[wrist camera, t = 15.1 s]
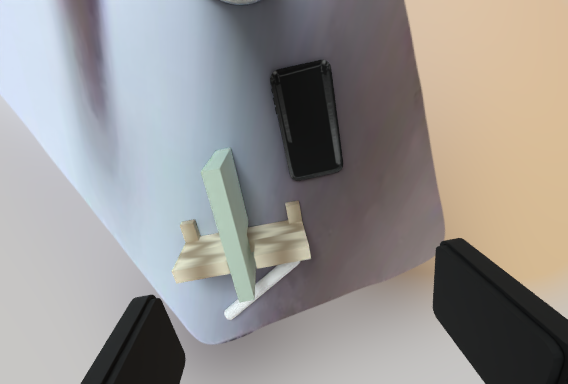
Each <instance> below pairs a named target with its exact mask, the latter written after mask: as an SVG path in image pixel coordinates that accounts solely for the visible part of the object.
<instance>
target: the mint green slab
mask: <svg viewBox="0 0 568 384" xmlns="http://www.w3.org/2000/svg"><path fill="white" fill-rule="evenodd" d="M201 175H202V178H203V181H204V185H205V188H206V192H207V195H208V198H209V202H210V205H211V208H212V212H213V215H214V219H215V222H216V225H217V229H218V232H219V235H220V239H221V242H222V246H223V249H224V252H225V256H226V259H227V263H228V266H229V269H230V273H231V276H232V279H233V283H234V286H235V290H236V293H237V296H238V300H239V303H241V302H246V301H252V300H255V279H256V262H255V258H254V252H251V249H250V245H249V241H248V237H247V229H248V218H247V213H246V209H245V205H244V201H243V197H242V193H241V189H240V185H239V180H238V176H237V172H236V168H235V164H234V160H233V156H232V152H231V148H226V149H220V150H216V151H215V153H214V154H213V155H212V157H211V158H210V160H209V161H208V162H207V164H206V165H205V166H204V168H203V169H202V170H201Z"/></svg>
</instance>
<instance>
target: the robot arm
mask: <svg viewBox="0 0 568 384" xmlns="http://www.w3.org/2000/svg"><path fill="white" fill-rule="evenodd" d="M220 1H223V2H226V3H229V4H236V5H246V4H252V3H255V2H258V1H260V0H220ZM433 311H434V314H435V316H436V318H437V319H438V320H439V322H440V323H441V324H442V326H443V327H444V329H445V330H446V331H447V333H448V334H449V335H450V337H451V338H452V339H453V341H454V342H455V343H456V345H457V346H458V347H459V349H460V350H461V351H462V353H463V354H464V355H465V357H466V358H467V360H468V361H469V362H470V363H471V365H472V366H473V368H474V369H475V370H476V372H477V373H478V374H479V376H480V377H481V378H482V380H483V381H484V382H485V384H568V319H566V318H565V317H563V316H562V315H561V314H560V313H558V312H557V311H556V310H554V309H553V308H552V307H551V306H549V305H548V304H547V303H545V302H544V301H543V300H542V299H540V298H539V297H538V296H536V295H535V294H534V293H533V292H531V291H530V290H529V289H527V288H526V287H525V286H523V285H522V284H521V283H520V282H518V281H517V280H516V279H514V278H513V277H512V276H510V275H509V274H508V273H507V272H505V271H504V270H503V269H501V268H500V267H499V266H498V265H496V264H495V263H494V262H492V261H491V260H490V259H488V258H487V257H486V256H485V255H483V254H482V253H481V252H479V251H478V250H477V249H475V248H474V247H473V246H471V245H470V244H469V243H468V242H466V241H465V240H464V239H462V238H457V239H452V240H446V241H442V242H441V243H440V246H438V247H437V248H436V258H435V275H434V293H433ZM184 366H185V353H184V350H183V348H182V346H181V344H180V341H179V339H178V337H177V335H176V333H175V330H174V328H173V325H172V323H171V321H170V319H169V316H168V314H167V312H166V310H165V307H164V305H163V303H162V301H161V299H160V298H156V297H155V296H154V295H148V296H142V297H137V298H134V299H133V300H132V301H131V302H130V304H129V306H128V307H127V309H126V311H125V312H124V314H123V316H122V317H121V319H120V320H119V322H118V323H117V325H116V327H115V328H114V330H113V332H112V333H111V335H110V337H109V338H108V340H107V341H106V343H105V345H104V346H103V348H102V350H101V351H100V353H99V354H98V356H97V358H96V359H95V361H94V363H93V364H92V366H91V368H90V369H89V371H88V372H87V374H86V376H85V377H84V379H83V381H82V382H81V384H180V380H181V376H182V373H183V369H184Z"/></svg>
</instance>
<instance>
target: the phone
mask: <svg viewBox="0 0 568 384" xmlns="http://www.w3.org/2000/svg"><path fill="white" fill-rule="evenodd" d="M270 81H271V86H272V93H273V96H274V98H273V99H274V104H275V105H276V107H275V109H276V114H277V115H278V120H279V124H280V129H281V134H282V139H283V143H284V148H285V153H286V158H287V162H288V167H289V172H290V176H291V178H292V179H294V180H296V181H300V180H305V179H309V178H314V177H318V176H323V175H327V174H332V173H336V172H339V171H340V170H341V169H342V167H343V158H342V150H341V142H340V135H339V127H338V119H337V111H336V103H335V95H334V88H333V80H332V72H331V66H330V64H329V62H327V61H326V60H318V61H314V62H309V63H305V64H300V65H296V66H291V67H287V68H283V69H278V70H276V71H274V72H273V73H272V75H271V78H270Z"/></svg>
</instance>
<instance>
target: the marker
mask: <svg viewBox="0 0 568 384" xmlns="http://www.w3.org/2000/svg"><path fill="white" fill-rule="evenodd" d="M299 263H300V261H296V262H291V263H285V264H280V265H277V266H276V267H275V268H274V269H273V270H271V271H270V272H269V273H268V274H267V275H266V276H264V277H263V278H262V279H261V280H260V281H258V282H257V283H256V284H255V300H256V299H258V298H259V297H260V296H261V295H262V294H264V293H265V292H266V291H267V290H268V289H270V288H271V287H272V286H273V285H274V284H276V283H277V282H278V281H279V280H280V279H282V278H283V277H284V276H285V275H286V274H288V273H289V272H290V271H291V270H292V269H294V268H295V267H296V266H297V265H298V264H299ZM255 300H252V301H246V302H241V303H239V300H238V299H237V300H236V301H235V302H234V303H233V304H231V305H230V306H229V307H228V308H227V309H226V310H225V311H224V312H225V313H224V314H225V317H226V318H227V319H228V320H232V319H233V318H235V317H236V316H237V315H238V314H240V313H241V312H242V311H243V310H244V309H246V308H247V307H248V306H249V305H250V304H252V303H253V302H254V301H255Z"/></svg>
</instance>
